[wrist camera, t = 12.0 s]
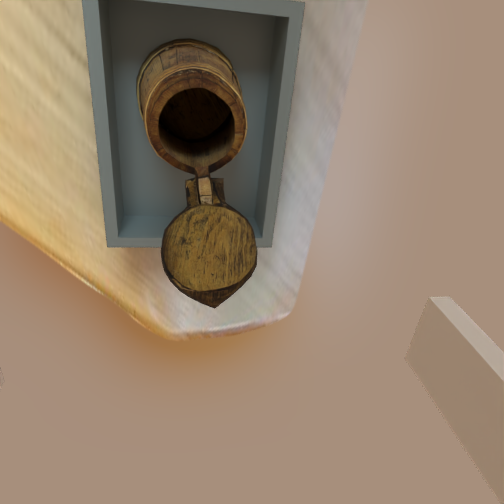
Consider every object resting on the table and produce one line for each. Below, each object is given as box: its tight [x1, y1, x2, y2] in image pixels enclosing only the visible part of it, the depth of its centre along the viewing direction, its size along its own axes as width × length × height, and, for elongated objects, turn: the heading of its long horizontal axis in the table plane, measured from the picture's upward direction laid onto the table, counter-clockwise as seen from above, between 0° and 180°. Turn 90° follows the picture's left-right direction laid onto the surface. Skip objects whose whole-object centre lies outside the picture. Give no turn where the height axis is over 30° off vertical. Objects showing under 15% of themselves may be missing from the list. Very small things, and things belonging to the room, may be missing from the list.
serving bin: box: [82, 0, 305, 247], centre depth 34 cm, size 20×15×6 cm
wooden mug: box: [136, 38, 257, 308], centre depth 28 cm, size 9×14×18 cm, turn 1°
